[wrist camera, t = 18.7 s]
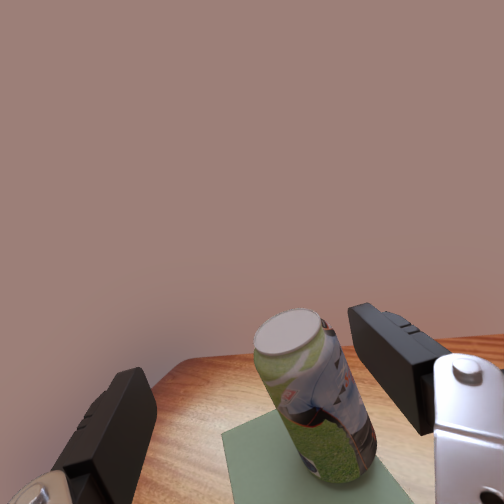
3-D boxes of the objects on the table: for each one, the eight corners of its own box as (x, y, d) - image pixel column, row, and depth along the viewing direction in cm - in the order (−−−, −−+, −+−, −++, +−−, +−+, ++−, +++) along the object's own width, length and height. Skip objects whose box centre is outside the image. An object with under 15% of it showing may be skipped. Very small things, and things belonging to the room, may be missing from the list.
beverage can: (398, 469, 19) (373, 320, 17) (305, 520, 18) (260, 366, 15) (347, 406, 25) (322, 289, 23) (274, 440, 24) (238, 319, 21)
